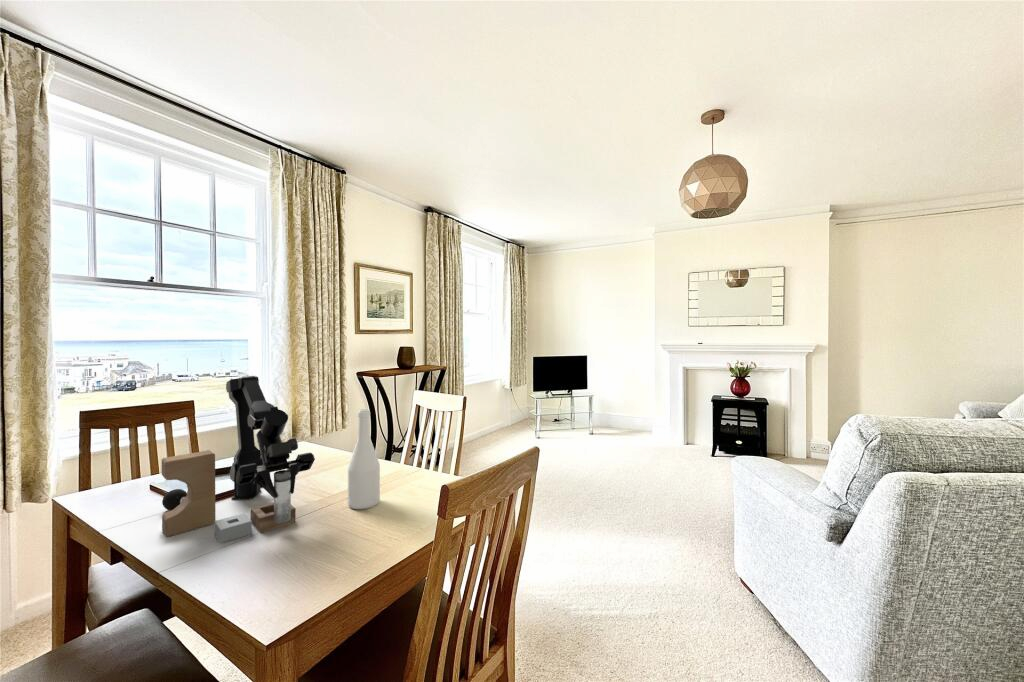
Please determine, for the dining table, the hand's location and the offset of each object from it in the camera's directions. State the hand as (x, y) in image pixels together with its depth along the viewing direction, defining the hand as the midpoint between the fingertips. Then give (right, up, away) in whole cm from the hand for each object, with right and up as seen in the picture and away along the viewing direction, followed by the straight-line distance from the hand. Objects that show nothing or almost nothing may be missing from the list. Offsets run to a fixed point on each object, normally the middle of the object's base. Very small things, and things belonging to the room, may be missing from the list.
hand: (284, 495), depth 112 cm
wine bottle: (+15, -10, +20) cm, 27 cm away
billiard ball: (-41, -10, +15) cm, 45 cm away
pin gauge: (-1, -7, +1) cm, 7 cm away
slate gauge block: (-13, -10, 0) cm, 17 cm away
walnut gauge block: (-7, -10, +7) cm, 14 cm away
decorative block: (-28, -10, +3) cm, 30 cm away
